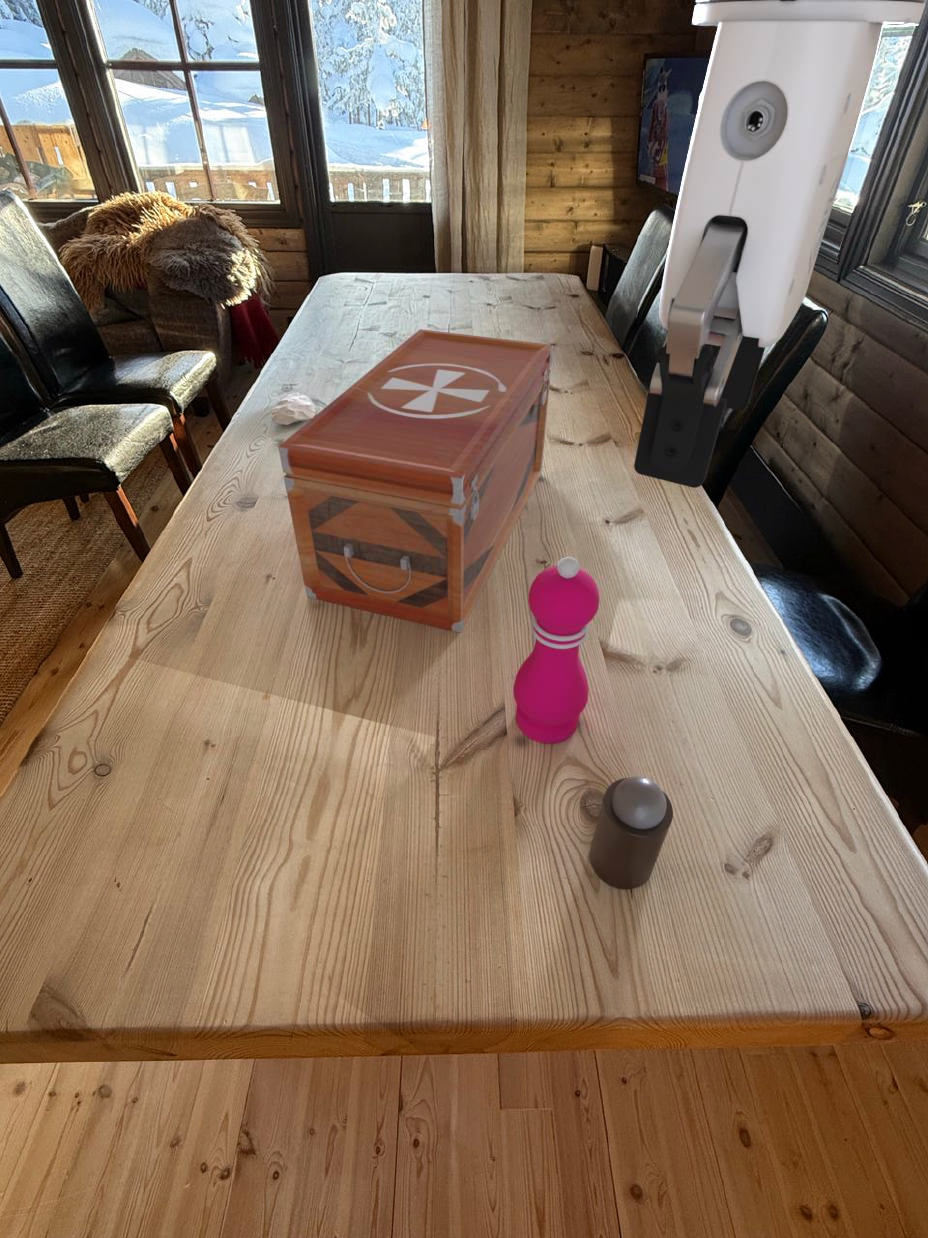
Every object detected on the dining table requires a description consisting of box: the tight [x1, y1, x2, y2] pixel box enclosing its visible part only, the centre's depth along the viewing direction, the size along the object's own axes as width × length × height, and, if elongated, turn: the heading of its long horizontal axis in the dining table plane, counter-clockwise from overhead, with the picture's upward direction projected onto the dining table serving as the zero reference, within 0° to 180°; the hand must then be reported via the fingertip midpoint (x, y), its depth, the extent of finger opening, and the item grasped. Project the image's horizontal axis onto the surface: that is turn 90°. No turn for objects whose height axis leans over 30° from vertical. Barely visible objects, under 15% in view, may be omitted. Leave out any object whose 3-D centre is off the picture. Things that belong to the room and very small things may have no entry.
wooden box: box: [277, 328, 554, 633], centre depth 86 cm, size 20×41×20 cm, turn 161°
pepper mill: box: [512, 556, 600, 744], centre depth 60 cm, size 7×7×20 cm
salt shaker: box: [589, 775, 674, 891], centre depth 52 cm, size 5×5×10 cm
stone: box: [270, 392, 317, 426], centre depth 121 cm, size 8×14×2 cm, turn 5°
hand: (694, 437), depth 34 cm, fingers open, 9 cm apart
